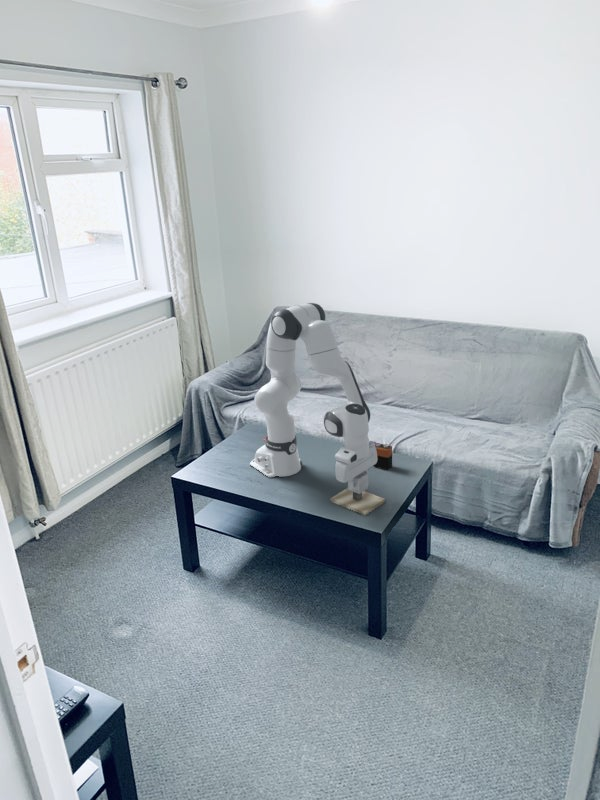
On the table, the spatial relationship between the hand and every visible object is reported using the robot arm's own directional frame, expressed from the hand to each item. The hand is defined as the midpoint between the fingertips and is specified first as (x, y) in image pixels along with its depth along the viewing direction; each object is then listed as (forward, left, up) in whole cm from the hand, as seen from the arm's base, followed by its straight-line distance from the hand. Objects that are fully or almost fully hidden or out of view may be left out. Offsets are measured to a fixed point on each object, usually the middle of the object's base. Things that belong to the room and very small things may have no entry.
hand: (357, 483), depth 223 cm
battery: (-9, +28, -8) cm, 30 cm away
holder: (0, 0, -8) cm, 8 cm away
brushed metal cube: (0, 0, -2) cm, 2 cm away
